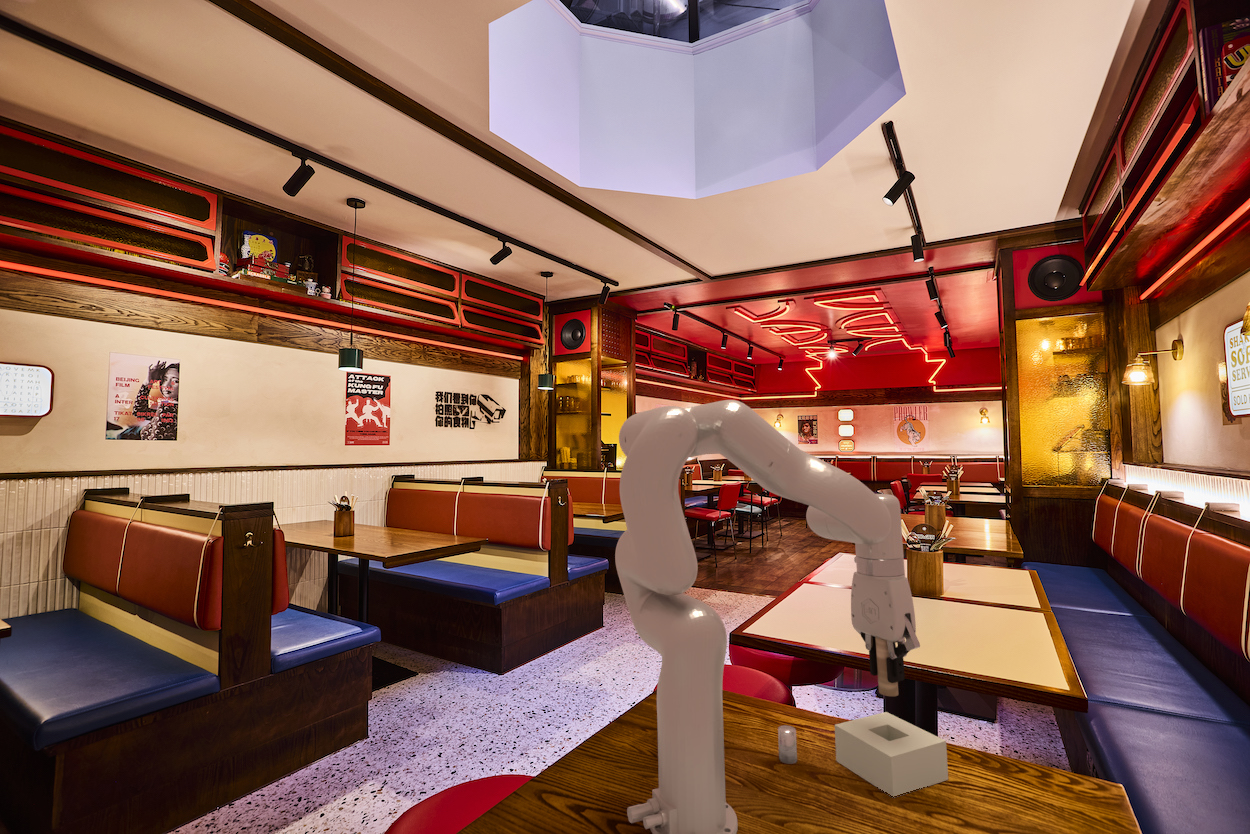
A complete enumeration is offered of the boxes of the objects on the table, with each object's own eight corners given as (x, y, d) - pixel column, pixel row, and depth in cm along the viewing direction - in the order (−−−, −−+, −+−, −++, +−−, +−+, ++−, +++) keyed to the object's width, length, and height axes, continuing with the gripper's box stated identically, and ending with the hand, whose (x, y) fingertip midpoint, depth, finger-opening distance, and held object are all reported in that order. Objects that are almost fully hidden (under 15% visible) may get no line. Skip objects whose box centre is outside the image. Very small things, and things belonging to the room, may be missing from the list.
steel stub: (786, 765, 98) (785, 734, 98) (775, 757, 100) (774, 727, 101) (800, 761, 99) (799, 731, 99) (789, 753, 102) (788, 724, 102)
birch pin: (889, 697, 95) (884, 623, 96) (874, 691, 98) (870, 619, 98) (902, 694, 96) (897, 620, 97) (888, 687, 99) (883, 616, 100)
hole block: (893, 797, 88) (891, 756, 88) (836, 760, 99) (834, 724, 99) (948, 779, 92) (946, 740, 93) (888, 746, 103) (886, 711, 104)
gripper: (828, 562, 104) (835, 666, 103) (903, 577, 89) (912, 699, 88) (860, 557, 107) (866, 659, 106) (938, 572, 92) (946, 690, 91)
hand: (887, 676), depth 97 cm, fingers closed on birch pin, 3 cm apart
